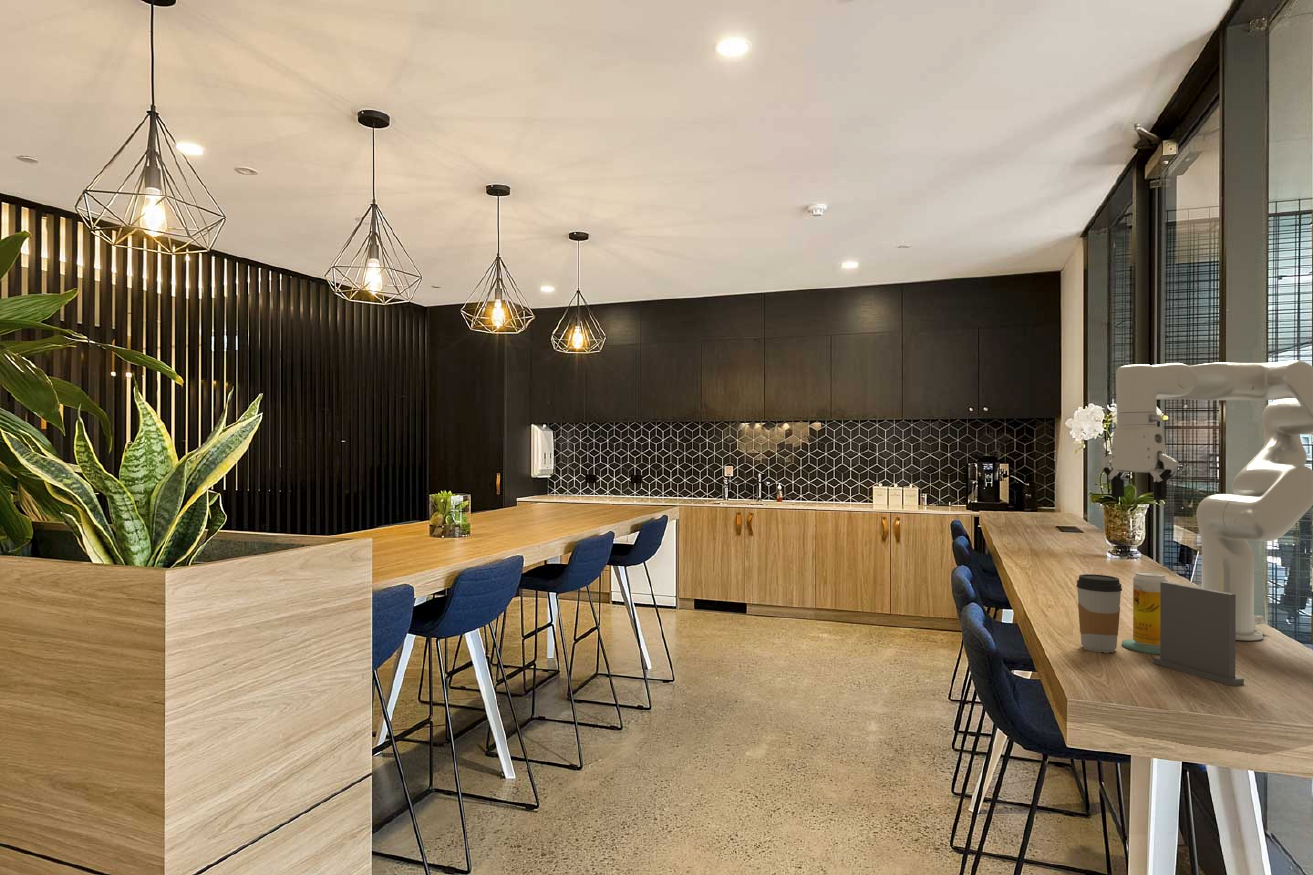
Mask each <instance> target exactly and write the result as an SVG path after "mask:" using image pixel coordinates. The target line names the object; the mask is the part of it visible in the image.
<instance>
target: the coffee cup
mask: <svg viewBox="0 0 1313 875" xmlns="http://www.w3.org/2000/svg"><path fill="white" fill-rule="evenodd" d="M1120 582H1121V581H1120V578H1118V577H1117V576H1111V575H1106V574H1105V575H1104V574H1095V573H1094V574H1093V573H1092V574H1091V573H1090V574H1089V573H1088V574H1085V573H1084V574H1080V575H1078V579H1076V588H1077V601H1078V603H1077V606H1078V610H1077V611H1078V620H1079V621H1078V622H1079V623H1078V624H1079V633H1080V642H1081V646H1082V648H1083V649H1084V650H1086V651H1090V652H1096V653H1101V652H1104V653H1105V654H1108V653H1109V652H1112V653H1114V652H1116V650H1117V648H1118V647H1117V646H1118V644H1117V643H1118V636H1119V627H1120V614H1121V593H1122V591H1123V588H1122V585H1123V584H1122V583H1120ZM1109 654H1110V653H1109Z"/></svg>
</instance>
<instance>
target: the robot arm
mask: <svg viewBox="0 0 1313 875" xmlns="http://www.w3.org/2000/svg"><path fill="white" fill-rule="evenodd" d="M1115 384H1116V385H1115V397H1116V398H1115V399H1116V400H1115V401H1116V427H1114V430H1113V435H1112V439H1111V440H1112V442H1111V454H1109V455H1107V456H1105V457H1103V458H1102V459H1100V461H1099V463H1100V465H1101V467H1102V468H1103V472H1104V473H1105V474H1106V475H1107V477H1108V480H1110V488H1111V490H1110V492H1111V497H1112V498H1123V497H1124V496H1125V480H1124V479H1123V477H1124V475H1125V473H1149V474H1150V475H1151V476H1152V477H1153V478H1154V480H1155V481H1153V482H1152V491H1153V492H1152V493H1153V494H1152V496H1153V501H1166V500H1167V495H1168V485H1167V484H1168V482H1170V480H1171V479H1170V478H1172V476H1174V474H1175V473H1176V470H1177V468H1178V466H1179V464H1180V462H1179V461H1178V460H1176V459H1174V458H1173V457H1172V456H1169V455H1167V446H1166V441H1165V437H1164V436H1165V435H1164V432H1163V429H1162V427H1161V426H1158V422H1161V421H1162V415H1160V414H1158V411H1157V400H1189V401H1190V400H1192V401H1271V400H1272V401H1271V402H1269V403H1268V404H1267V405H1266V406H1265V408H1264V409H1263V411H1262V415H1261V422H1262V428H1263V434H1264V443H1263V446H1262V447H1261V449H1260V450H1259V451H1258V453H1257V454H1255V456H1253V458H1252V459H1251V460H1250V461H1249V462H1247V464H1246V465H1245V466H1244V467H1243V468H1242V469H1241V470H1240V471H1239V472H1238V473H1237V475H1235V477H1234V479H1233V481H1232V483H1231V484H1232V485H1231V490H1232V493H1233V494H1231V493H1218V494H1211V495H1208V496H1206V497H1205V498H1203V499H1202V500H1201V501H1200V502H1199V504H1198V506H1197V508H1196V522H1197V528H1198V531H1199V536H1200V541H1201V542H1200V544H1201V588H1205V589H1210V590H1216V591H1221V592H1227V593H1232V594H1236V639H1235V641H1245V642H1246V641H1248V642H1249V641H1252V642H1253V641H1261V640H1262V639H1263V638H1264V636H1263V635H1264V634H1263V632H1262V631H1260V630H1258V629H1256V626H1257V625H1264V624H1265V623H1266V618H1265V617H1264V616H1263V615H1256V614H1255V605H1254V604H1255V583H1254V582H1255V556H1254V552H1253V550H1252V549H1253V548H1252V547H1251V545H1250V544H1249V541H1248V540H1251V541H1258V542H1259V541H1260V542H1272V541H1275V540H1278V539H1280V538H1282V537H1283V536H1284V535H1286V534H1287V533H1288V532H1289V531H1290V530H1291V529H1292V528H1293V527H1294V526H1295V525H1296V523H1297V522H1299V520H1300V519H1301V518H1302V517H1303V516H1304V515H1305V514H1306V513H1307V512H1308V511H1309V510H1310V509H1311V508H1312V506H1313V469H1311V468H1310V467H1307V466H1306V463H1307V460H1308V458H1307V452H1306V449H1305V447H1304V445H1303V443H1302V440H1301V437H1300V435H1313V365H1312V364H1309V363H1307V362H1305V361H1304V360H1298V359H1295V360H1294V359H1293V360H1283V361H1276V362H1274V361H1273V362H1212V363H1211V362H1210V363H1202V364H1195V365H1188V364H1184V363H1182V362H1169V363H1162V364H1152V365H1150V364H1128V365H1123V366H1120V367H1118V368H1117V369H1116V371H1115Z"/></svg>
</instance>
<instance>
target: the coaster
mask: <svg viewBox="0 0 1313 875" xmlns="http://www.w3.org/2000/svg"><path fill="white" fill-rule="evenodd" d="M1121 646H1122V647H1123V648H1125V649H1126V650H1130V651H1134V652H1137V653H1142V654H1149V655H1158V656H1160V648H1148V647H1143V646H1139V645H1137V644H1136V642H1135V641H1134V640H1133V638H1131V639H1130V638H1129V639H1124V640H1122V641H1121Z"/></svg>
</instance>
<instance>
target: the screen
mask: <svg viewBox="0 0 1313 875" xmlns="http://www.w3.org/2000/svg"><path fill="white" fill-rule="evenodd" d="M1235 639H1236V594H1232V593H1227V592H1221V591H1216V590H1210V589H1205V588H1202V587H1199V586H1192V585H1187V584H1184V583H1183V584H1182V583H1177V582H1171V581H1168V582H1160V655H1159V656H1155V657H1152V663H1153V664H1156V665H1158V666H1163V667H1165V668H1169V669H1174V670H1175V671H1176V670H1177V671H1180V672H1183V673H1187V674H1191V675H1193V676H1198V677H1200V678H1204V679H1206V680H1210V681H1214V682H1218V683H1220V684H1224V685H1228V686H1232V687H1234V686H1241V684H1242V685H1244V684H1245V679H1244V677H1240V676H1236V640H1235Z"/></svg>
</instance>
